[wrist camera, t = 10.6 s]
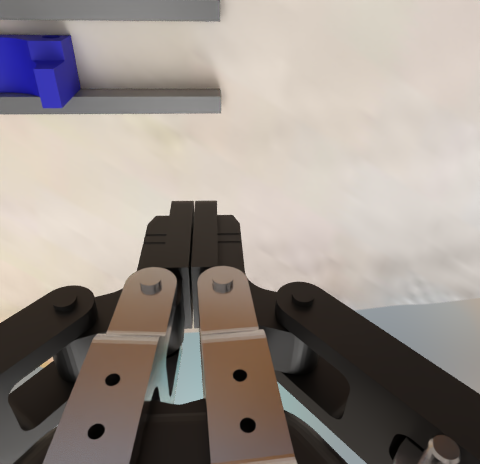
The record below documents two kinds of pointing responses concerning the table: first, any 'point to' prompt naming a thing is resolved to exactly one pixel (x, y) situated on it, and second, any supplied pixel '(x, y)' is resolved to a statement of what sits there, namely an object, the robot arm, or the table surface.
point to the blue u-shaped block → (39, 67)
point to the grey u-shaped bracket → (115, 100)
